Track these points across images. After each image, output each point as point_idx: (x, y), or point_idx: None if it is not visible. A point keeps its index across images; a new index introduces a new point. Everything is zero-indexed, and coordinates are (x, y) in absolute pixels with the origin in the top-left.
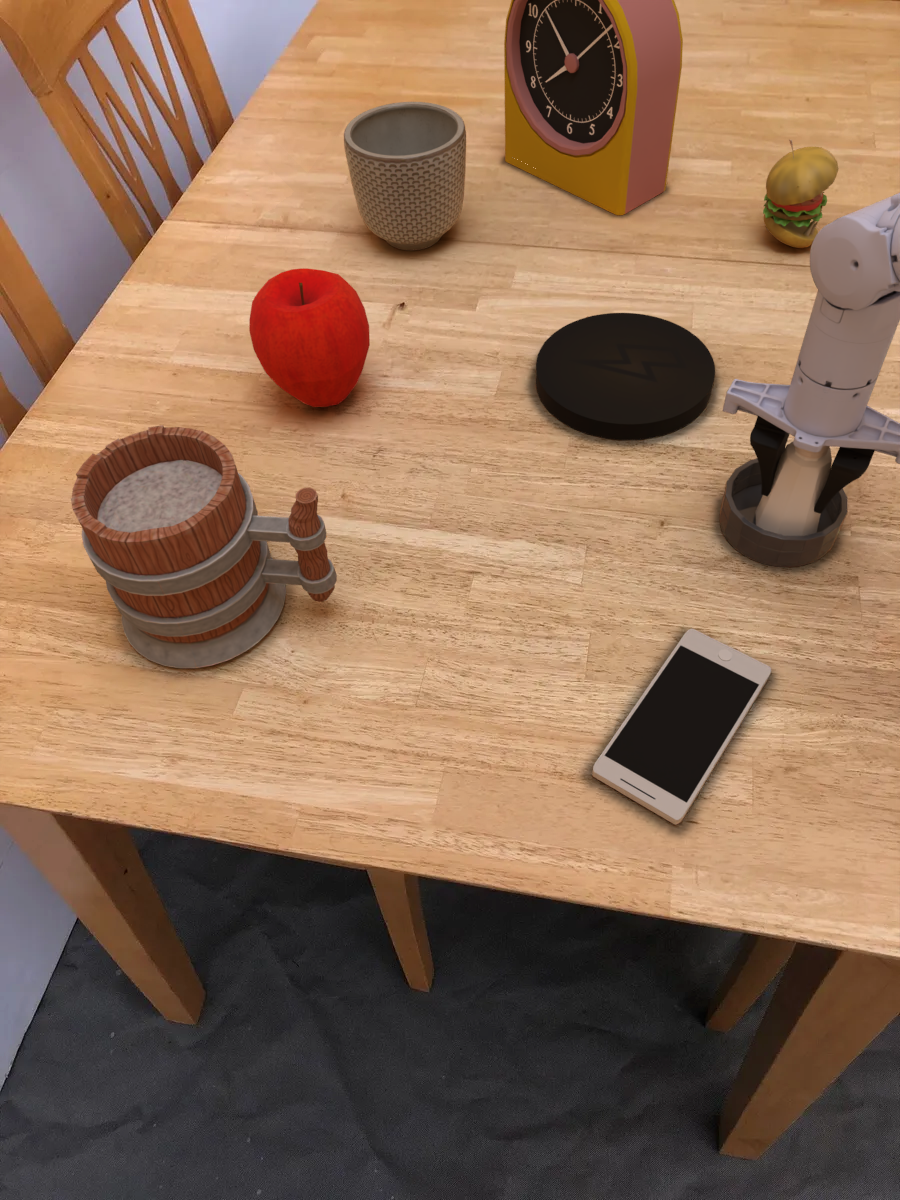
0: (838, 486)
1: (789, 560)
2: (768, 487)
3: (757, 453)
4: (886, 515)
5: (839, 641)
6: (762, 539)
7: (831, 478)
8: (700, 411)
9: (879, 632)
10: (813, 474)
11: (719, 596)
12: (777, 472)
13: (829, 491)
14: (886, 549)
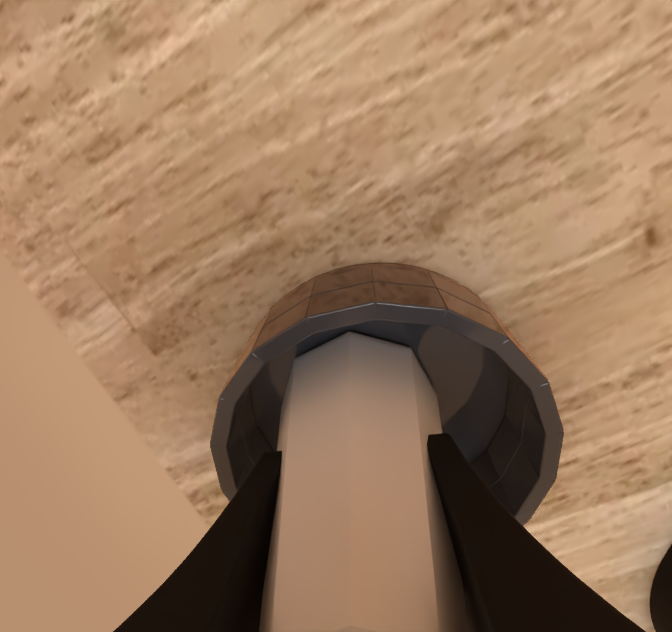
0: (175, 585)
1: (287, 299)
2: (440, 461)
3: (603, 611)
4: (208, 516)
5: (55, 142)
6: (368, 293)
7: (193, 622)
8: (664, 576)
9: (14, 233)
10: (292, 597)
11: (391, 78)
12: (441, 530)
13: (221, 542)
14: (156, 447)
